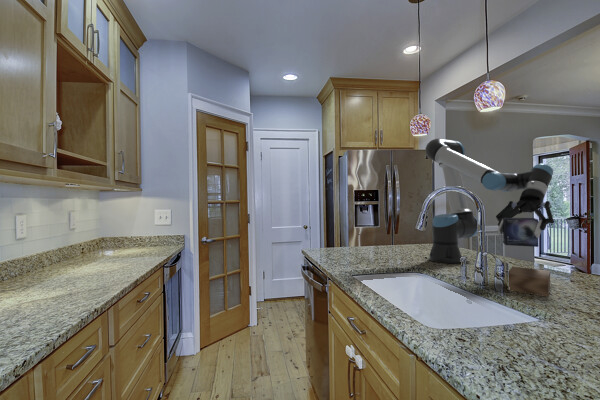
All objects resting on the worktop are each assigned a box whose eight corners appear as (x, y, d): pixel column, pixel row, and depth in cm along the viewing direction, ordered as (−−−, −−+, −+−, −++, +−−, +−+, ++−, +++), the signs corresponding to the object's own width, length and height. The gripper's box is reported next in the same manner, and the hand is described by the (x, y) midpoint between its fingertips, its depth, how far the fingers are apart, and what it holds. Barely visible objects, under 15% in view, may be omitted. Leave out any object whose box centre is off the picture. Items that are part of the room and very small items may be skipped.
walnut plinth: (506, 291, 104) (506, 273, 104) (512, 282, 115) (512, 266, 115) (548, 297, 97) (547, 278, 97) (550, 287, 107) (550, 270, 107)
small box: (505, 245, 118) (504, 218, 118) (502, 243, 124) (502, 217, 124) (539, 247, 113) (538, 218, 113) (535, 244, 119) (534, 217, 119)
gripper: (498, 189, 134) (480, 225, 125) (568, 186, 114) (553, 229, 105) (504, 200, 137) (487, 237, 128) (573, 200, 117) (559, 243, 108)
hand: (517, 234), depth 117 cm, fingers closed on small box, 12 cm apart
